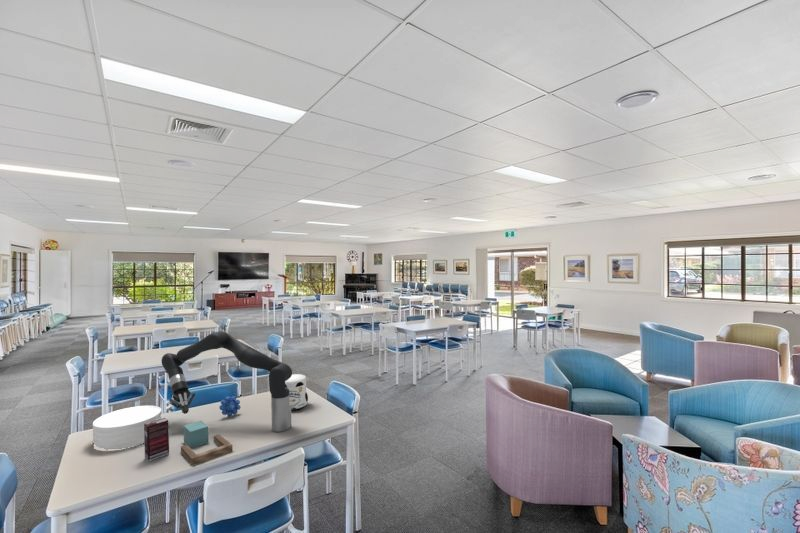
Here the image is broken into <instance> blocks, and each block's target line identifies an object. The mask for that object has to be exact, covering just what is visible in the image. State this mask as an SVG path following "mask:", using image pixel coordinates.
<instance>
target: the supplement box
mask: <svg viewBox="0 0 800 533" xmlns="http://www.w3.org/2000/svg"><path fill="white" fill-rule="evenodd" d="M169 434H170V433H169V420H168V419H167V418H166V417H164V418H161V419H159V420H156V421H152V422H149V423H145V424H144V443H145V444H144V459H145V460H146V461H147V460H148V461H149V462H151V461H154V460H157V459H160V458H163V457H165V456H167V455H169V454H170V438H169V437H170V435H169ZM159 457H160V458H159ZM156 458H157V459H156ZM150 460H151V461H150ZM148 461H147V462H148Z"/></svg>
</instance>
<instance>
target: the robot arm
mask: <svg viewBox="0 0 800 533" xmlns="http://www.w3.org/2000/svg"><path fill="white" fill-rule="evenodd" d="M221 348H222V349H225V350H228V351H230V352H232V354H233V355H234V356H235V358H236V359H237V361H239V362H240V363H241V364H243V365H246V366H247V367H249V368H253V369H257V370H258V369H259V370H263V371H266V372H268V373H269V374H268V385H269V386H268V387H269V389H268V390H269V393H270V396H271V398H270V400H271V401H270V403H271V430H272V431H273V432H277V433H279V432H284V431H287V430H289V429H290V428H292V410H291V409H290V397H289V389H288V388H286V387H285V381H287V380H288V379H289V378H290V377H291V376H292V375H293V370H292V368H291V367H290V366H289V365H288V364H287V363H284V362H282V361H280V360H278V359H274V358H273V357H270V356H269V355H266V354H264V353H263V352H260V351H259V350H257V349H256V348H254V347H252V346H251V345H250V346H249V345H248V344H246V343H244V342H242V341H240V340H238V339H237V338H235V337H233V336H232V335H230V334H229V333H228V332H227V331H224V330H223V331H222V330H220V331H215V332H211V333H210V334H208V335H206V336H205V337H203V338H202V339H200V340H198V341H197V342H195V343H193V344H191V345H188V346H186V347H184V348H183V347H182V348H181V349H179V350H178V351H177V353H171V352H167V353H165V354H163V355H162V357H161V364H162V367H163V370H165V372H166V373H167V376H168V379H169V380H168V381H169V387H170V390H171V394H172V397H171V398H170V399H169V400H168V404H169V405H171V406H173V407H175V409H179V408H180V409H181V412H182V414H184V415H185V414H188V413H189V412H190V411H189V406H191V404H192V402H193V400H194V399H195V396H196V393H191V391H190V390H189V386H188V383H187V380H186V377H185V374H184V371H183V368H182V367H181V366H182V365H183V364H184V363H186V362H187V361H189V360H191V359H193V358H195V357H197V356H199V355H200V354H201V353H204V352H206V351H207V352H208V351H210V350H211V351H212V350H219V349H221ZM188 399H189V400H188Z"/></svg>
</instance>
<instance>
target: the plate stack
mask: <svg viewBox="0 0 800 533" xmlns="http://www.w3.org/2000/svg"><path fill="white" fill-rule="evenodd" d="M159 419H162V408H161V407H160V406H158V405H157V406H156V405H136V406H131V407H124V408H121V409H117V410H114V411H113V410H112V411H111V412H108V413H105V414H103V415H101V416H99V417H97V418H96V419H95V420H93V422H92V444H93V443H94V444H95V445H96V446H97V447H99V448H104V449H106V450H108V449H122V448H128V447H132V446H136V447H138V446H137V445H139V446H141V445H140V444H142V445H144V444H143V443H144V424H145V423H149V422H152V421H156V420H159Z"/></svg>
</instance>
